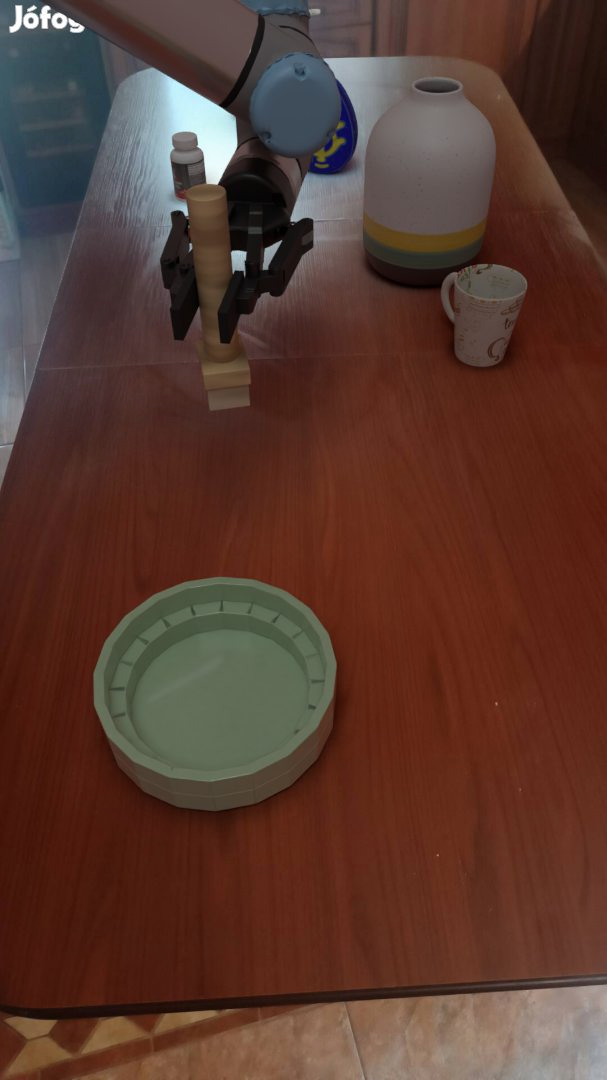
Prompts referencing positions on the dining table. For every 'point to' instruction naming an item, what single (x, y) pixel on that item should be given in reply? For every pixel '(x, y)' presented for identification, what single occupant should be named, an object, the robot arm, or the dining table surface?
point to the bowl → (216, 692)
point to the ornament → (338, 140)
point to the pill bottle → (186, 163)
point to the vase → (427, 184)
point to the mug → (483, 311)
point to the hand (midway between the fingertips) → (200, 326)
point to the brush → (215, 298)
